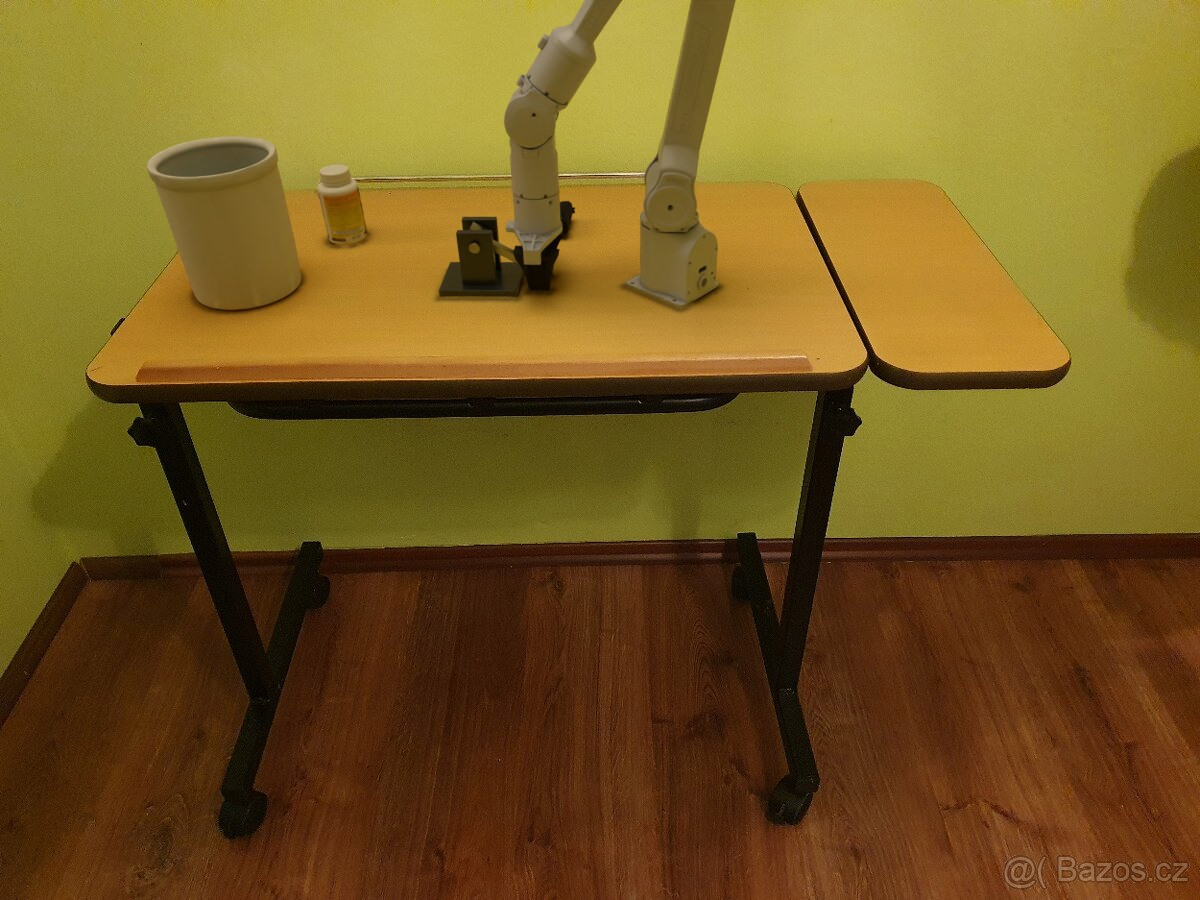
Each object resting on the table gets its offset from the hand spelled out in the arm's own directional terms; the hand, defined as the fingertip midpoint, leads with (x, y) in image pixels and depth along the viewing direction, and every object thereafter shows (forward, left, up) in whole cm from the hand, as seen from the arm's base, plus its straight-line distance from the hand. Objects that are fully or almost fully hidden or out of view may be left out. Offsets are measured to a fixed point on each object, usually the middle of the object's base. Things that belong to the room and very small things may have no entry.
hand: (541, 290), depth 118 cm
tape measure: (+10, -13, +1) cm, 16 cm away
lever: (+4, +3, +4) cm, 6 cm away
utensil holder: (+29, +25, +1) cm, 39 cm away
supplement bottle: (+31, +8, +1) cm, 32 cm away
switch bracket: (+6, +5, +1) cm, 8 cm away
